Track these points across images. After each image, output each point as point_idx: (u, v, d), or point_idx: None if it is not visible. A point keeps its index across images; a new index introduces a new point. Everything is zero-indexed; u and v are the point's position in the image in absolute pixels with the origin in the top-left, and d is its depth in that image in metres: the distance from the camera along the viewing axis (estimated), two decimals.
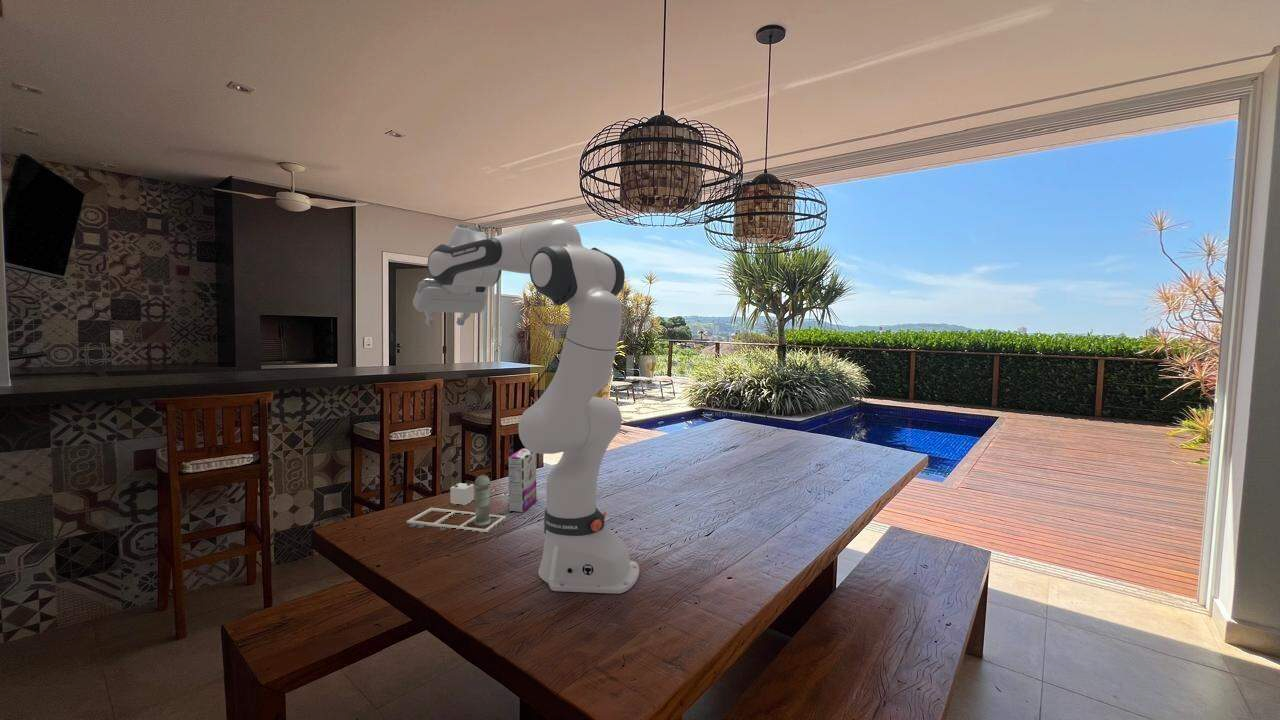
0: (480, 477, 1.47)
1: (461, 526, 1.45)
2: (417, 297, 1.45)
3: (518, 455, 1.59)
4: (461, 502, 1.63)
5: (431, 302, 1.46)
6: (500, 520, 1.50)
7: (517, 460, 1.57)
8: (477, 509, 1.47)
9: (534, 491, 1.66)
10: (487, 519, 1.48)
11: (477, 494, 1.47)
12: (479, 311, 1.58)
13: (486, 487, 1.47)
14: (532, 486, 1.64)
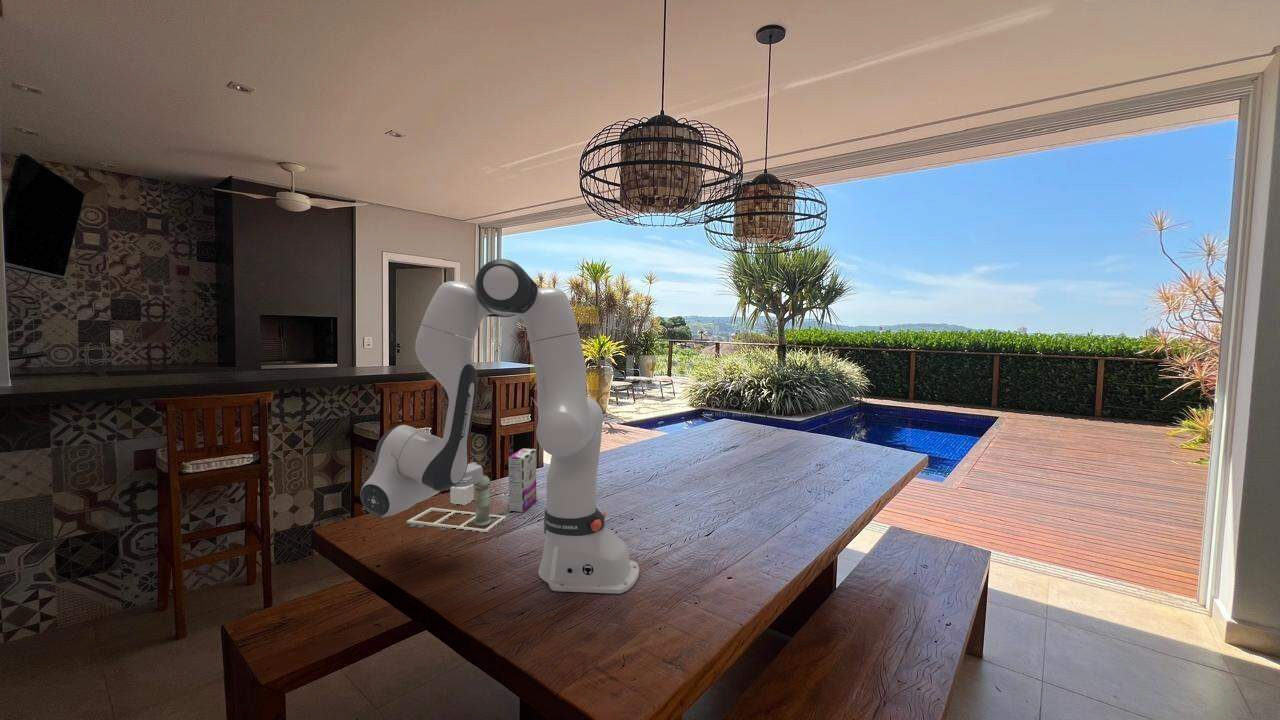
0: None
1: (461, 526, 1.45)
2: (475, 475, 1.25)
3: (518, 455, 1.59)
4: (461, 502, 1.63)
5: None
6: (500, 520, 1.50)
7: (517, 460, 1.57)
8: (477, 509, 1.47)
9: (534, 491, 1.66)
10: (487, 519, 1.48)
11: (477, 494, 1.47)
12: None
13: (486, 487, 1.47)
14: (532, 486, 1.64)
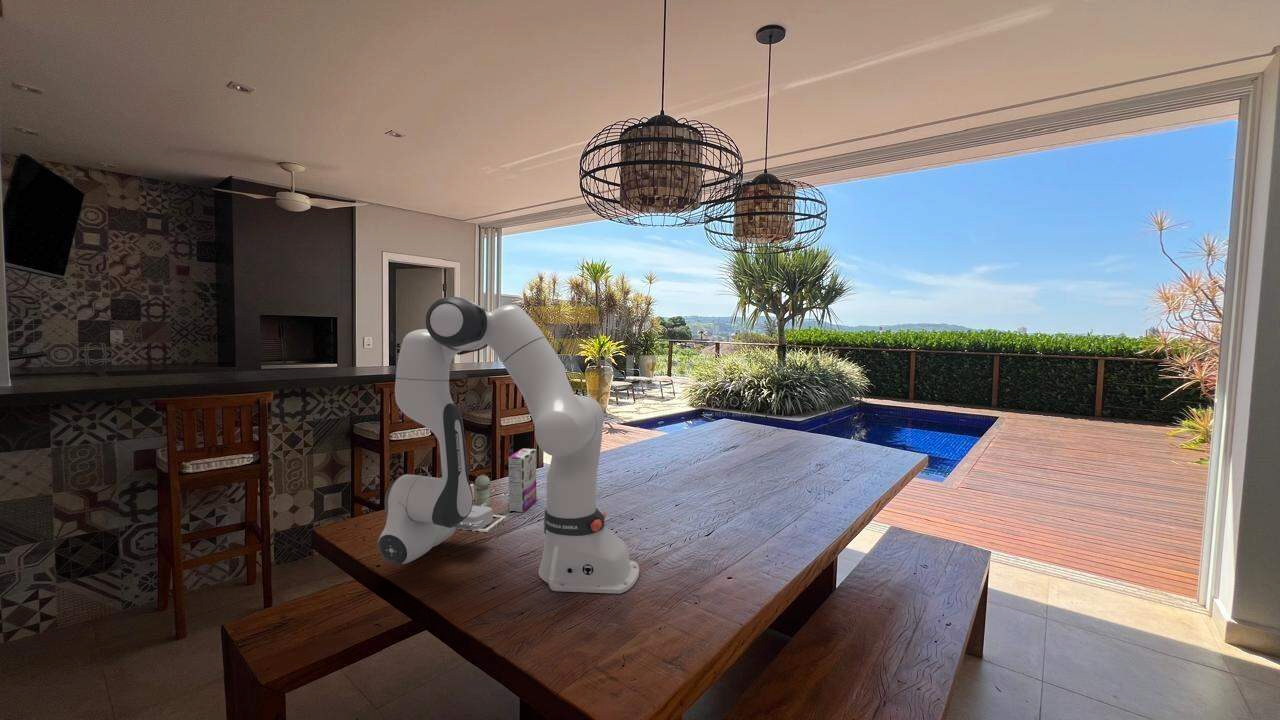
0: (480, 477, 1.47)
1: None
2: (486, 518, 1.31)
3: (518, 455, 1.59)
4: None
5: (475, 509, 1.32)
6: (500, 520, 1.50)
7: (518, 460, 1.57)
8: None
9: (534, 491, 1.66)
10: None
11: (477, 494, 1.47)
12: None
13: (486, 487, 1.47)
14: (532, 486, 1.64)
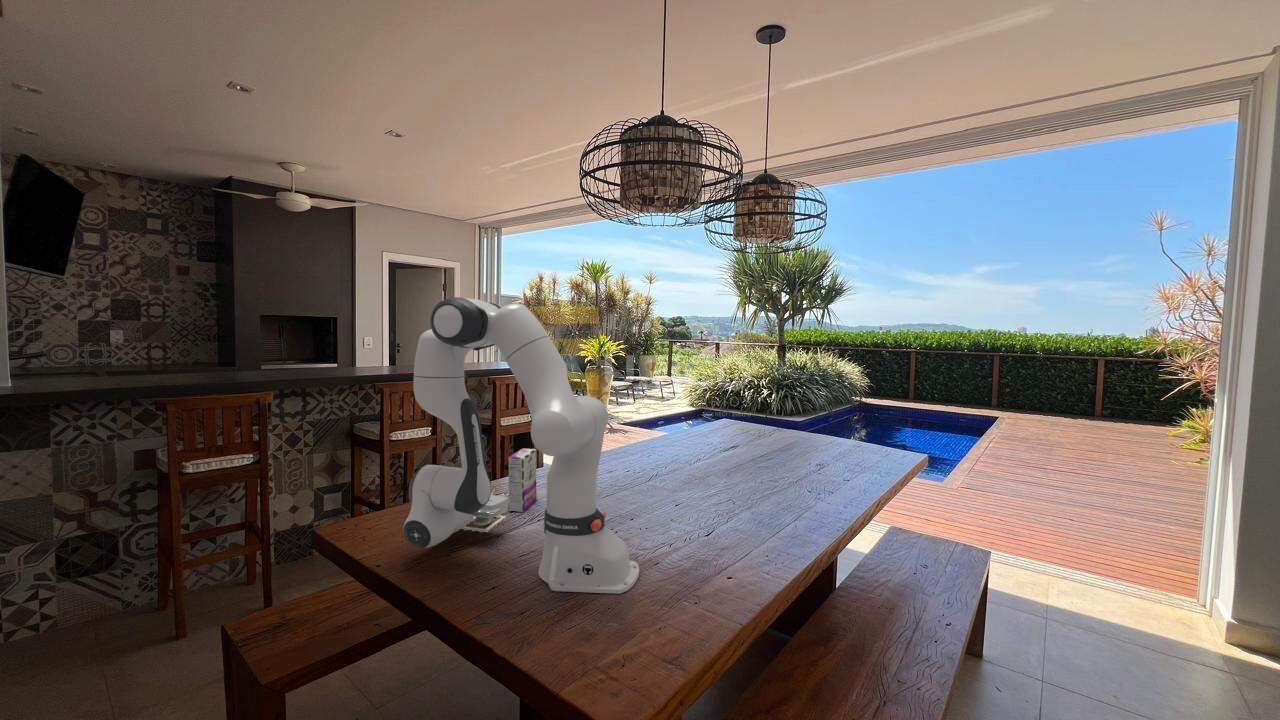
0: None
1: None
2: (502, 507, 1.39)
3: (518, 455, 1.59)
4: None
5: (492, 498, 1.40)
6: (500, 520, 1.50)
7: (518, 460, 1.57)
8: None
9: (534, 491, 1.66)
10: (487, 519, 1.48)
11: None
12: None
13: None
14: (532, 486, 1.64)
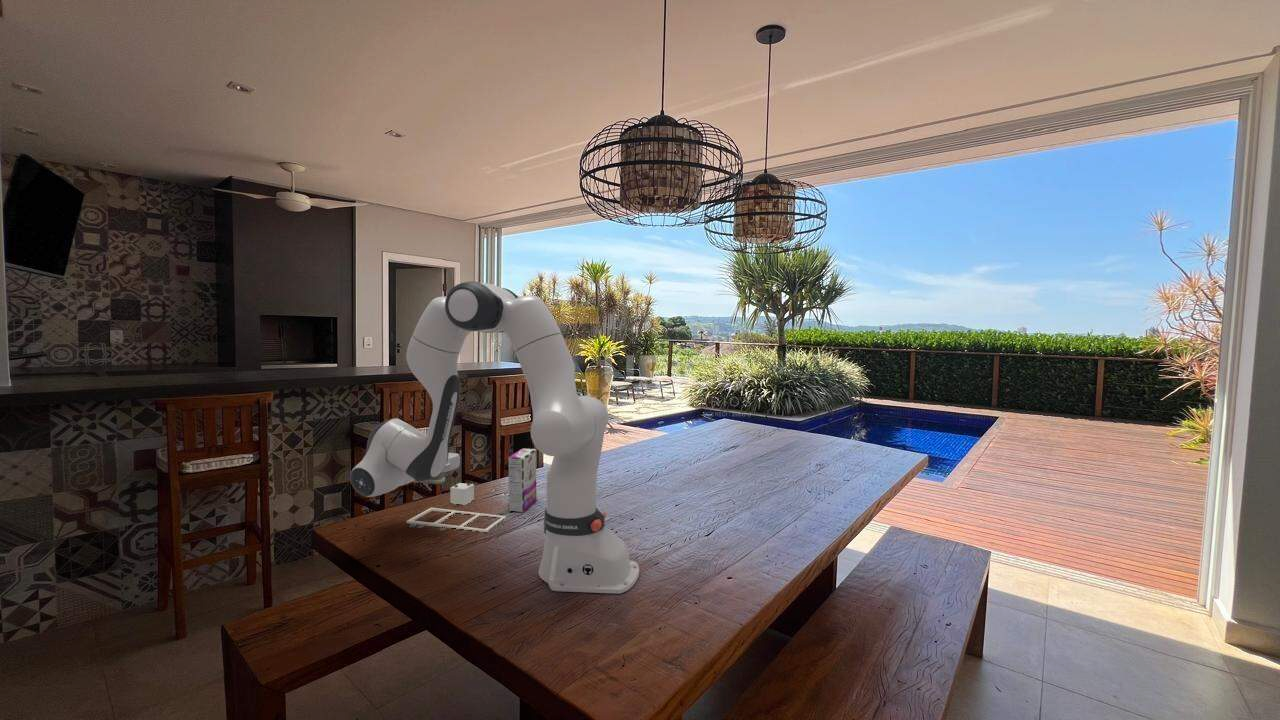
0: None
1: (461, 526, 1.45)
2: (453, 462, 1.41)
3: (518, 455, 1.59)
4: (461, 502, 1.63)
5: None
6: (500, 520, 1.50)
7: (518, 460, 1.57)
8: None
9: (534, 491, 1.66)
10: (441, 477, 1.50)
11: None
12: None
13: None
14: (532, 486, 1.64)
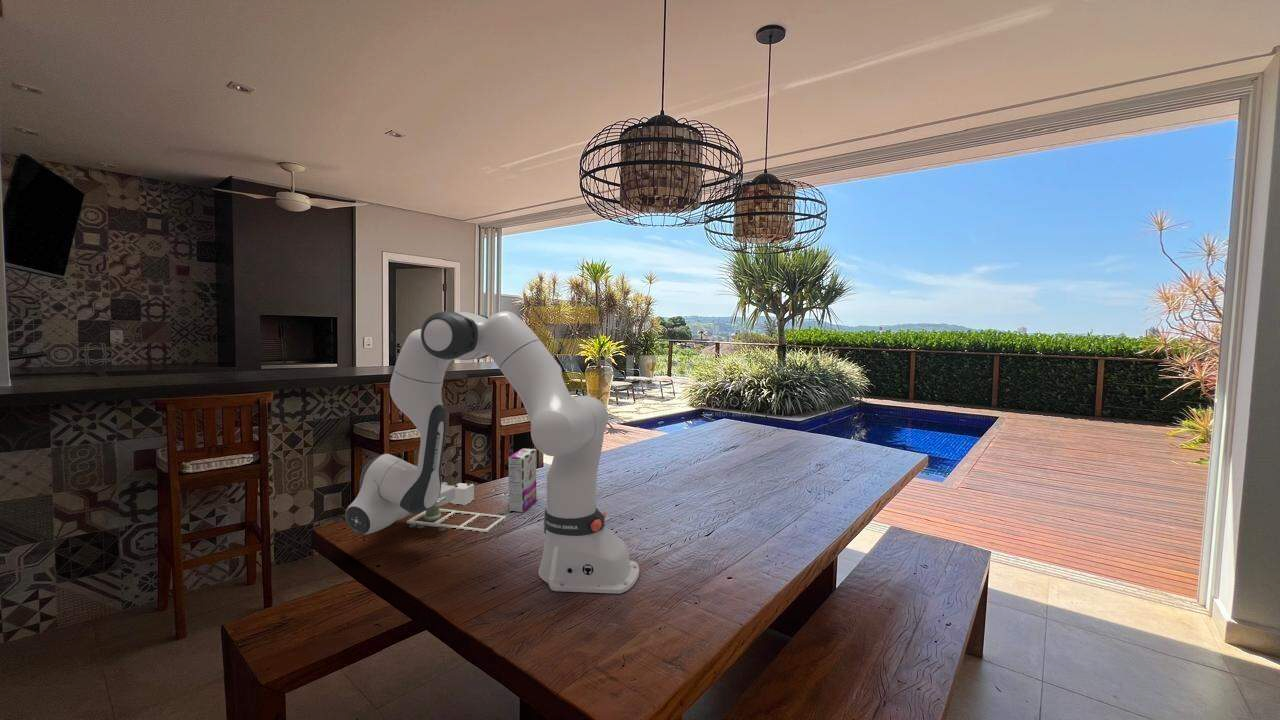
0: None
1: (461, 526, 1.45)
2: (448, 495, 1.42)
3: (518, 455, 1.59)
4: (461, 502, 1.63)
5: None
6: (500, 520, 1.50)
7: (517, 460, 1.57)
8: None
9: (534, 491, 1.66)
10: (437, 513, 1.51)
11: None
12: None
13: None
14: (532, 486, 1.64)
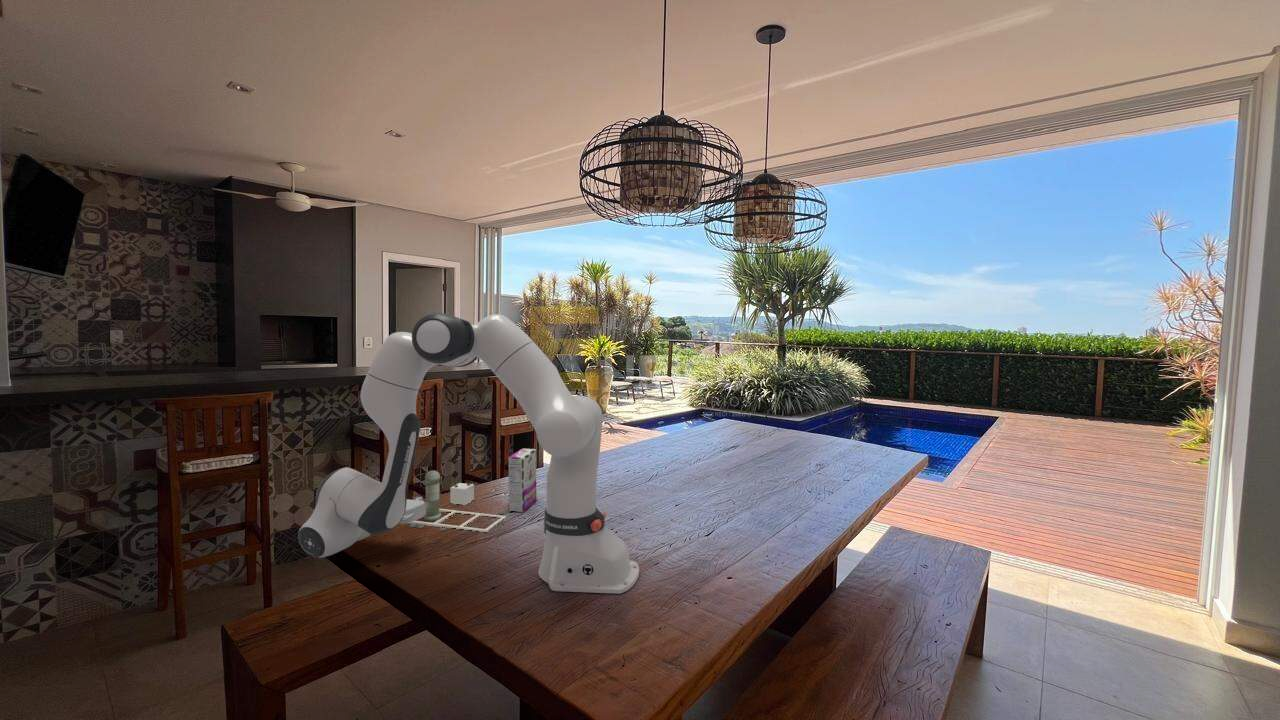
0: (430, 472, 1.50)
1: (461, 526, 1.45)
2: (417, 512, 1.30)
3: (518, 455, 1.59)
4: (461, 502, 1.63)
5: (407, 503, 1.31)
6: (500, 520, 1.50)
7: (517, 460, 1.57)
8: (427, 503, 1.50)
9: (534, 491, 1.66)
10: (437, 513, 1.51)
11: (427, 489, 1.50)
12: None
13: (436, 482, 1.51)
14: (532, 486, 1.64)
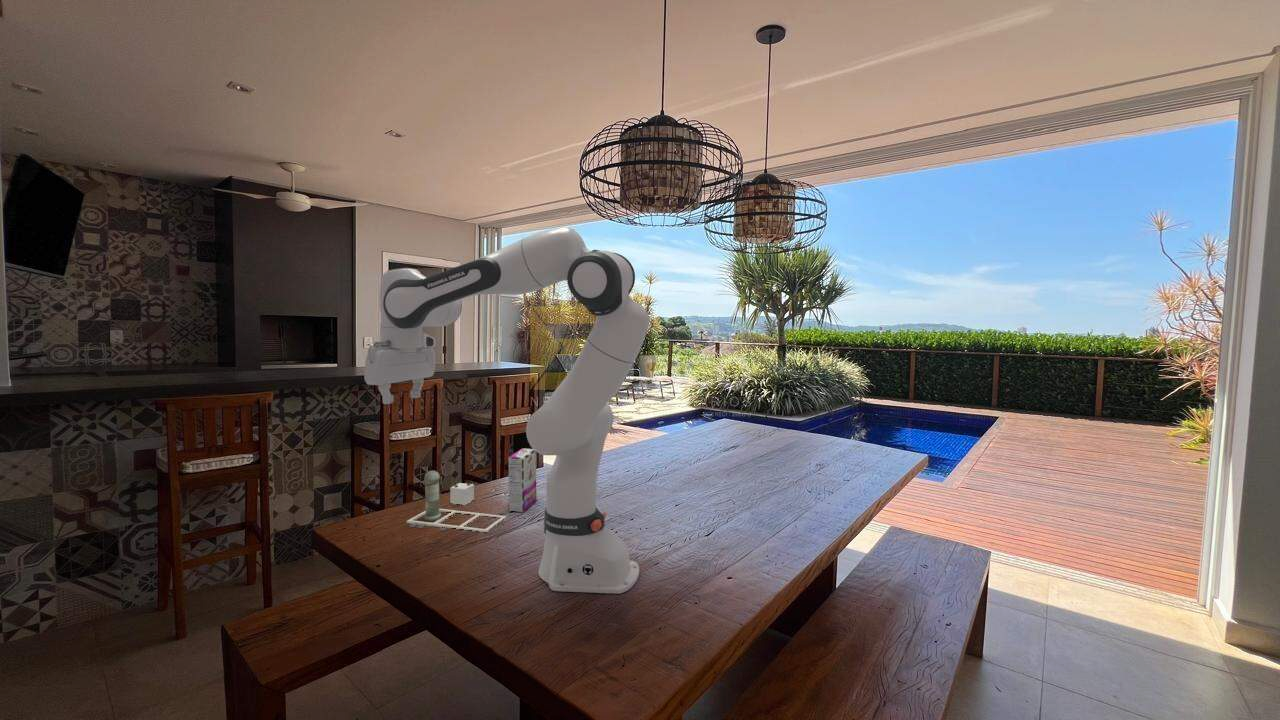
0: (429, 472, 1.50)
1: (461, 526, 1.45)
2: (371, 368, 1.14)
3: (518, 455, 1.59)
4: (461, 502, 1.63)
5: (388, 370, 1.17)
6: (500, 520, 1.50)
7: (517, 460, 1.57)
8: (427, 503, 1.50)
9: (534, 491, 1.66)
10: (437, 513, 1.51)
11: (426, 489, 1.50)
12: (431, 373, 1.32)
13: (435, 482, 1.51)
14: (532, 486, 1.64)
